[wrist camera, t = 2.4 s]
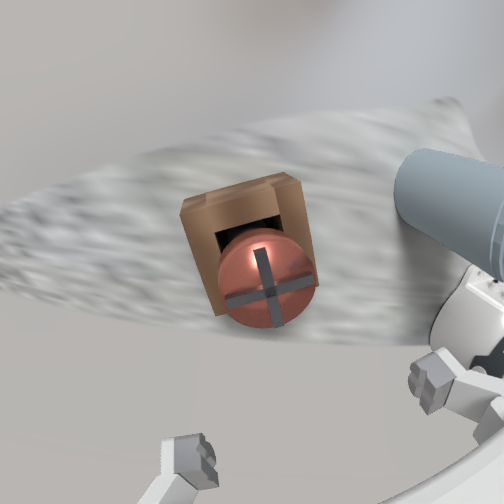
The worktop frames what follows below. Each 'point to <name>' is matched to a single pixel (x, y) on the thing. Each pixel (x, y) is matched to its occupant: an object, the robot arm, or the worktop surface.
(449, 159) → the spray bottle
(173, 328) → the worktop surface
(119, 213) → the worktop surface
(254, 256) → the copper cross-head bolt
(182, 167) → the worktop surface
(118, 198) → the worktop surface
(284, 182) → the block
